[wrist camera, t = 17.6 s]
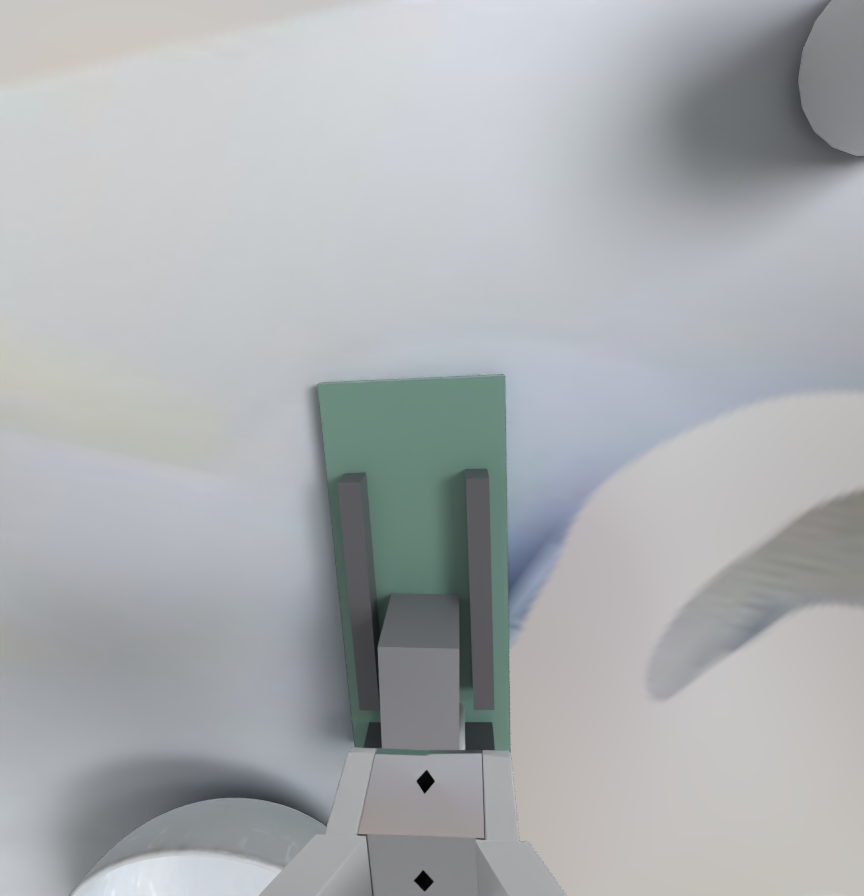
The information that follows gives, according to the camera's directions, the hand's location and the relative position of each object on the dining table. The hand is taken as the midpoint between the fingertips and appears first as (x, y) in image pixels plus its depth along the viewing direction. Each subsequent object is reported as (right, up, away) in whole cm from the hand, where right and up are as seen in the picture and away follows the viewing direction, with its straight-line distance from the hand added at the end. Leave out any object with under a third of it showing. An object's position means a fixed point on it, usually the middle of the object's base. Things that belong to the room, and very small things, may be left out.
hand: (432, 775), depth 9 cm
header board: (-1, -2, +20) cm, 20 cm away
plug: (0, -6, +20) cm, 21 cm away
